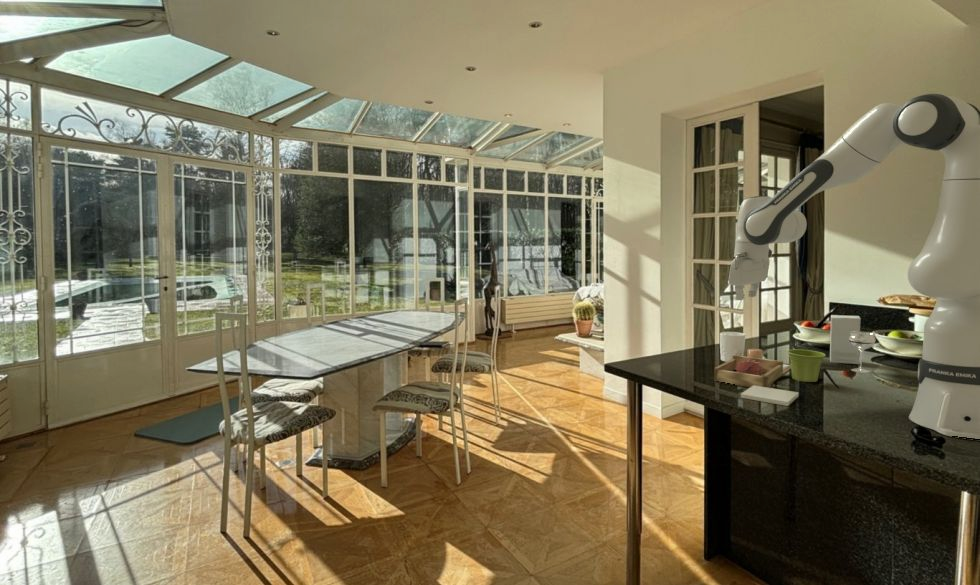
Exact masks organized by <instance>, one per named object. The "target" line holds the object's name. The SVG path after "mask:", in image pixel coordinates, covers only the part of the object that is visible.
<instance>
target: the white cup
mask: <svg viewBox="0 0 980 585" xmlns="http://www.w3.org/2000/svg"><path fill="white" fill-rule="evenodd" d="M745 346H746V333H744V332H740V331H739V332H736V331H722V332H720V333H719V349H720V351H719V353H720V360H721V361H723V362H724V363H725V362H727V361H729V360H731V359H733V355H737V356H745V355H744V354H745Z"/></svg>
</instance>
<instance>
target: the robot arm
mask: <svg viewBox="0 0 980 585" xmlns="http://www.w3.org/2000/svg"><path fill="white" fill-rule="evenodd" d="M904 145H908V146H911V147H915V148H919V149H921V150H925V151H934V152H940V153H941V154H942V155H943V156H944V157H943V158H944V164H945V166H944V172H943V178H942V184H941V189H940V193H939V194H940V195H939V200H938V204H937V205H938V206H937V211H936V216H935V219H934V222H933V224H932V227H931V230H930V232H929V233H928V236H927V238H926V240H925V243H924V244H923V247H922V249H921V251H920V253H919V254H918V255H917V256H916V257H915V258H914V259H913V260H912V261H911V263H910V264H909V266H908V269H907V279H908V282H909V284H910V286H911V287H912V288H913V290H915V292H918V293H919V294H921V295H923V296H925V297H928V298H931V299H932V298H933V299H937V300H936V301H935V302H936V303H935V305H934V307H933V310H932V312H931V314H930V315H929V317H928V318H927V319H926V320H925V322H924V325H923V337H922V338H923V340H922V341H923V342H922V353H921V355H922V356H921V357H920V358H919V361H918V366H917V367H918V368H917V380H918V381H917V382H918V388H917V392H916V397H915V401H914V404H913V406H912V409H911V411H910V413H909V416H908V419H909V420H910V421H911V422H913V423H915V424H917V425H918V426H919V425H920V426H921V427H924V428H927V429H930V430H934V431H935V432H938V433H939V434H942V435H944V436H947V437H952V436H958V437H957V438H959V437H967V438H975V439H980V110H979V108H978V107H976V106H975V105H974V104H971V103H968V102H965V101H964V99H963V100H962V99H961V98H959V97H956V96H951V95H944V94H940V93H927V94H925V93H924V94H922V95H917V96H915V97H913V98H911V99H909V100H908V101H906V102H905V103H904V104H902V105H900V104H897V103H893V102H884V103H880V104H878V105H876V106H874V107H873V108H871V109H869V111H867V112H866V113H865V114H864V115H862V116H860V118H858V119H857V120H856V121H855V122H854V123H853V124H851V126H849V128H848V129H846V131H844V132H843V134H842V135H841V136H839V138H838V139H836V141H835V142H833V143H832V144H831V146H830V147H829V148H828V149H826V151H824V152H823V153H822V154H821V155H820V156H818V157H817V158H816V159H815V160H814V161H812V163H809V165H808V166H806V167H805V168H804V169H803V170H802V171H801V170H800V172H799V173H798V174H797V175H796V176H794V177H793V178H792V179H791V180H790V181H789V182H788V183H787V184H785V186H783V187H782V188H781V189H780V190H779V191H778V192H777V193H776V194H774V196H773V197H772V196H769V195H758V196H756V195H755V196H750V197H746V198H745V199H743V201H742V202H741V204H740V207H739V210H738V213H737V214H738V215H737V220H736V221H737V223H736V230H737V236H736V238H735V244H734V253H733V258H734V259H732V261H731V263H730V268H729V274H728V284H729V285H730V286H734V291H735V294H736V295H735V299H736V301H744V299H745V294H744V289H745V286H747V285H750V288H749V290H748V297H750V298H755V297H757V293H758V290H759V288H760V283H762V282H765V281H766V279H767V278H768V274H769V269H770V262H771V261H770V258H771V259H772V257H773V250H772V249H771V248H770V247H769V246H770V245H771V244H788V243H789V244H790V243H792V242H796V241H799V240H800V239H802V237H803V236H804V235H805V233H806V231H807V227H808V226H807V225H808V221H807V217H806V216H805V214H804V213H803V212H802V211H800V210H799V209H800V207H802V206H803V205H804V204H805V203H806V202H808V200H809V199H811V198H812V197H814V196H815V195H817V194H819V193H821V192H824V191H826V190H829V189H832V188H837V187H840V186H845V185H849V184H852V183H856V182H858V181H860V180H862V179H863V178H864V177H866V176H868V175H870V173H873V171H875V169H877V168H878V167H879V165H881V164H882V163H883V162H884V161H885V160H886V159H887V158H888V157H889V156H891V155H892V153H894V152H895V151H896V150H897V149H899V148H900V147H903V146H904Z"/></svg>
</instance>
